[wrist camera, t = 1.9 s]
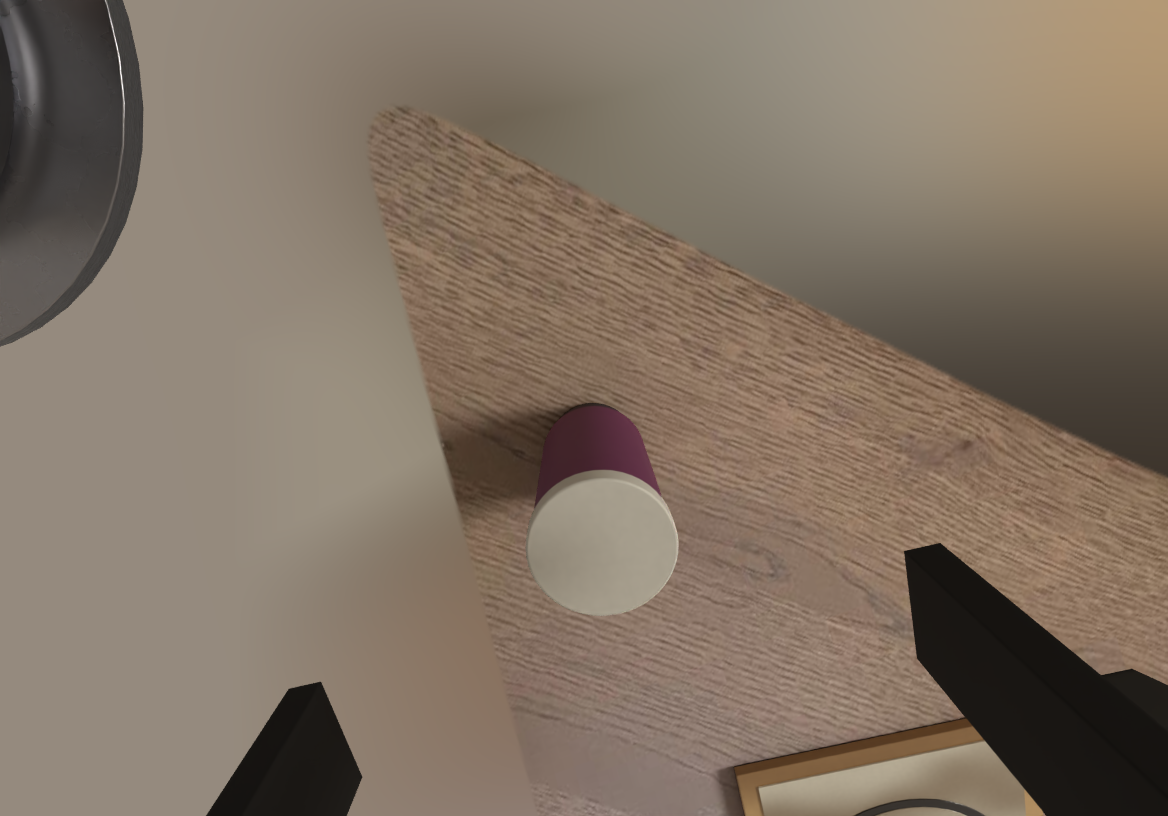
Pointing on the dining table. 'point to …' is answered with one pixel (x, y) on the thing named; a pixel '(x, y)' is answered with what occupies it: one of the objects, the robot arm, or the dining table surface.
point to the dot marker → (599, 516)
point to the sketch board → (889, 778)
